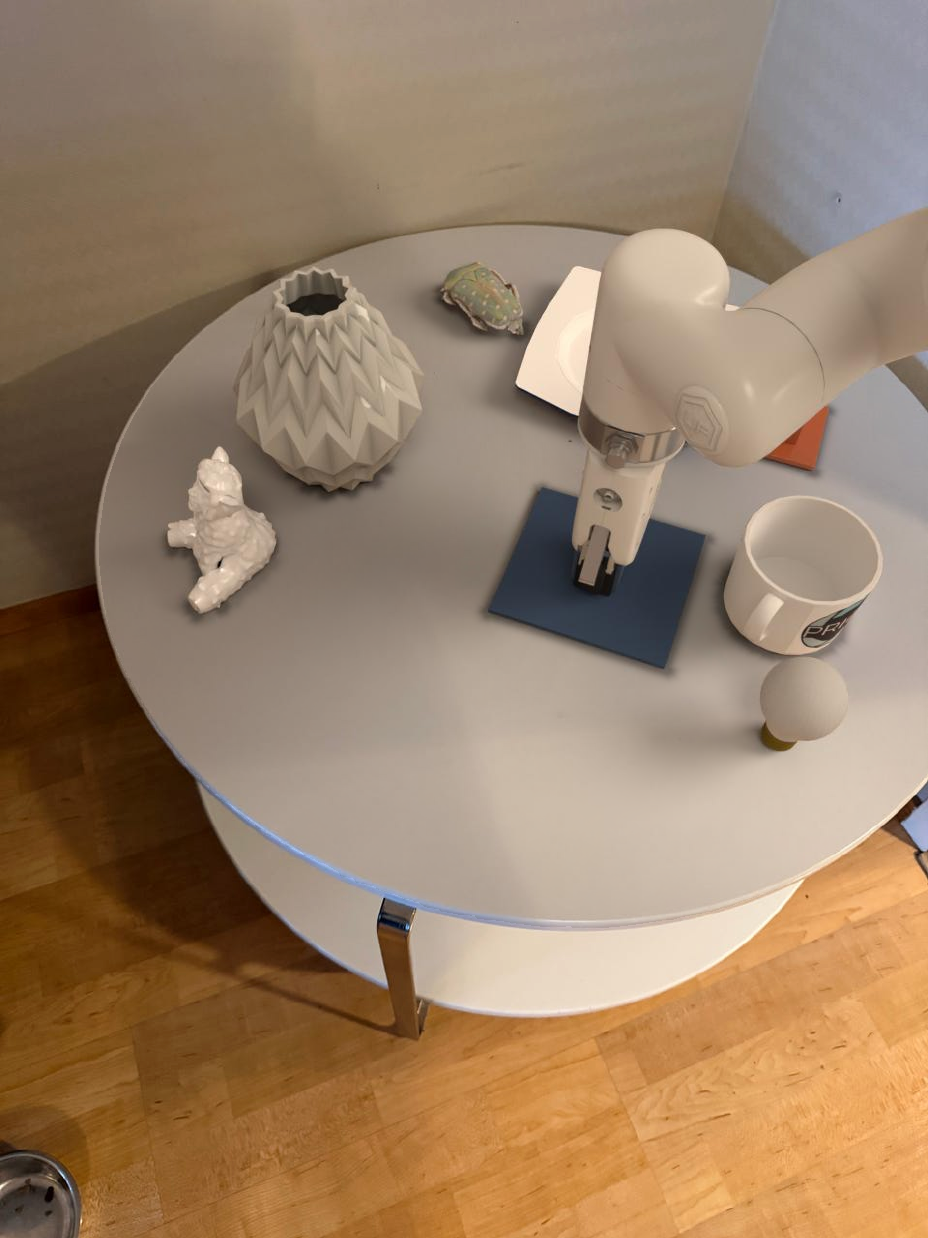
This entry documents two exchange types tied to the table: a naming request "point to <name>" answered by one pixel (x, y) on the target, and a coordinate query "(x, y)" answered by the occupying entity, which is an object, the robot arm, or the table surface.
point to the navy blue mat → (616, 623)
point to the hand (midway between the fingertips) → (600, 565)
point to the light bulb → (801, 702)
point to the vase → (327, 383)
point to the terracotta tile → (803, 444)
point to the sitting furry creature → (222, 533)
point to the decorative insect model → (484, 297)
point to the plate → (563, 344)
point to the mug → (800, 574)
